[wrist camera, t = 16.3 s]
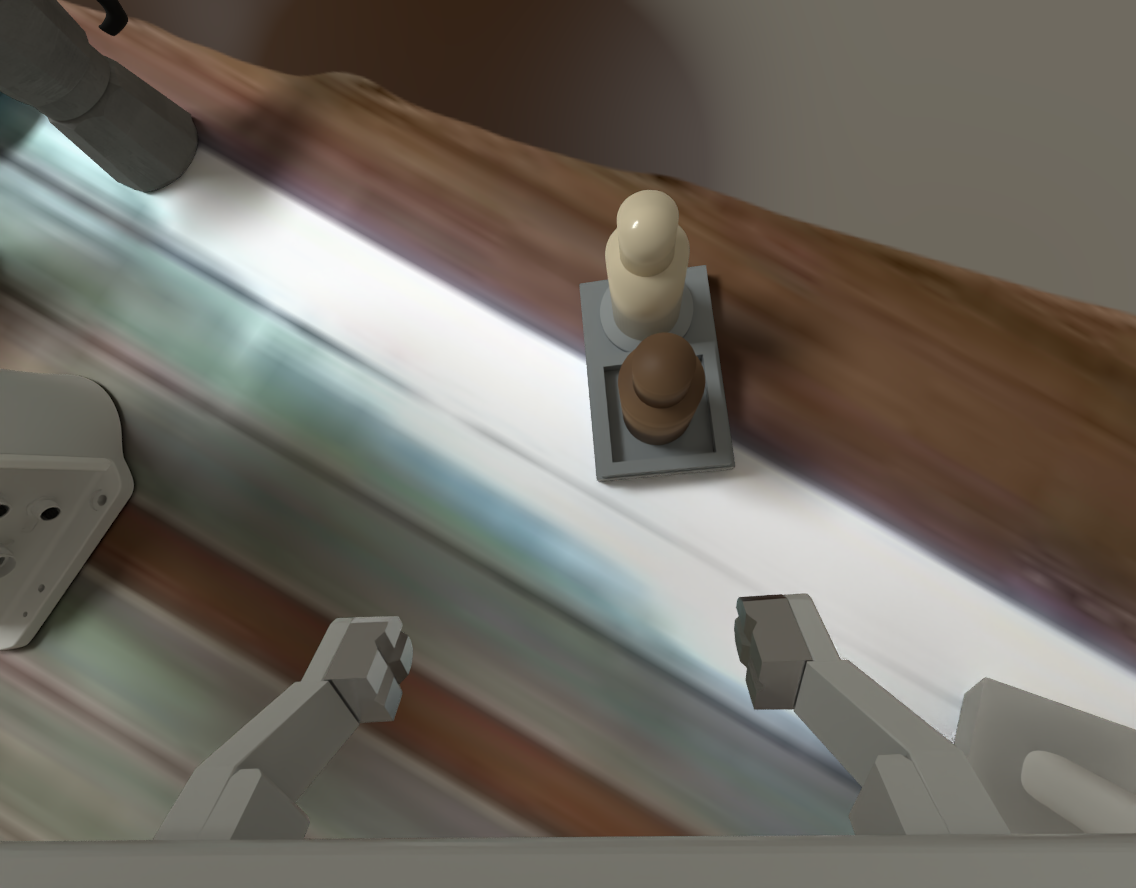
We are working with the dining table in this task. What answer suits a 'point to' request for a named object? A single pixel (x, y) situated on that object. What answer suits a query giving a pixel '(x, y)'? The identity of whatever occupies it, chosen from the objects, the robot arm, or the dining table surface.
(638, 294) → the cruet stand
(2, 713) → the dining table surface
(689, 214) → the dining table surface
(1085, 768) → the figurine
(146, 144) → the coffeepot
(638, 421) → the pepper mill
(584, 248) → the dining table surface
